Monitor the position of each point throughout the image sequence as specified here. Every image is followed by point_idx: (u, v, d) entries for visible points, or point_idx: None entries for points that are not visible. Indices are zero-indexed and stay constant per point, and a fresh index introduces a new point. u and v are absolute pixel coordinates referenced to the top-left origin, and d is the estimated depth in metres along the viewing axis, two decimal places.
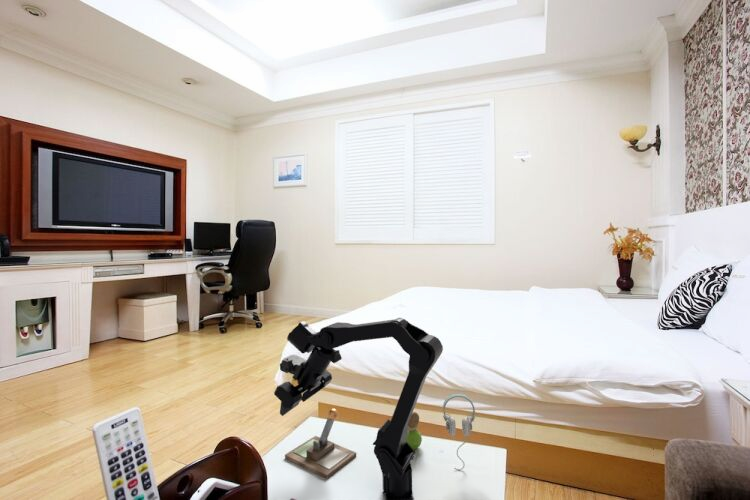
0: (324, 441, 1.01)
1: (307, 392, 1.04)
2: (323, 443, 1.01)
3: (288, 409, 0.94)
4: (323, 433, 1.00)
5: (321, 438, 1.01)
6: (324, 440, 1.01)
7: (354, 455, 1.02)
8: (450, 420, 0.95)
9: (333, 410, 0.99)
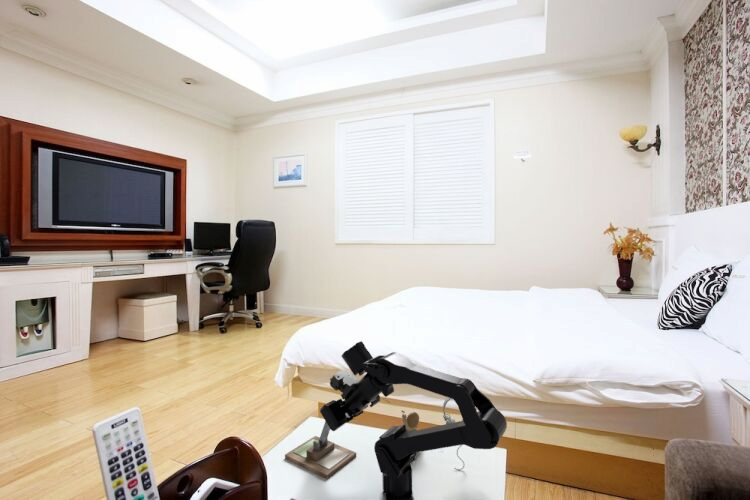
0: (324, 441, 1.01)
1: None
2: (323, 443, 1.01)
3: None
4: (323, 433, 1.00)
5: (321, 438, 1.01)
6: (324, 440, 1.01)
7: (354, 455, 1.02)
8: (450, 420, 0.95)
9: None
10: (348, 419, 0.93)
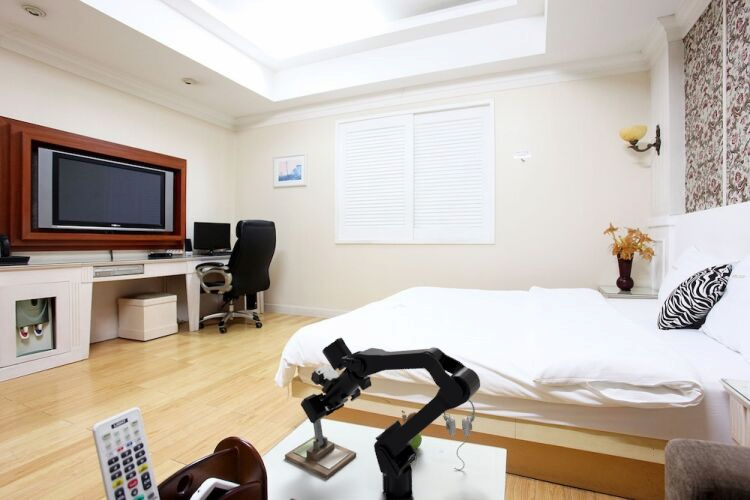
0: (320, 438, 1.02)
1: None
2: (320, 440, 1.02)
3: None
4: (315, 429, 1.02)
5: (316, 435, 1.02)
6: (320, 436, 1.02)
7: (354, 455, 1.02)
8: (450, 420, 0.95)
9: None
10: (328, 412, 0.96)
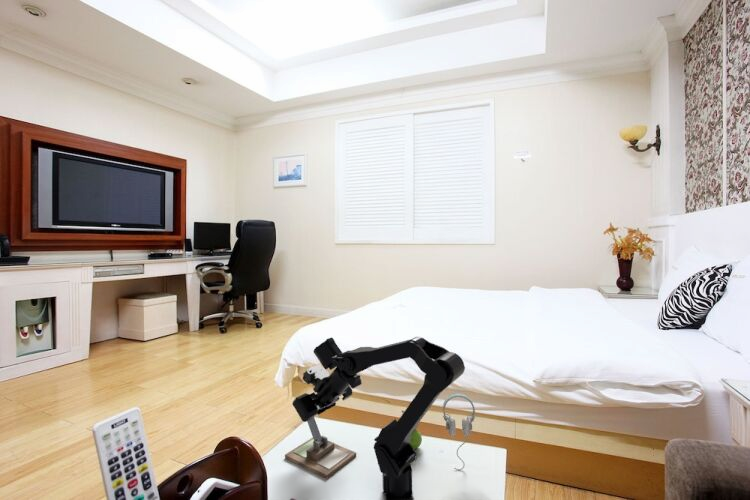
0: (318, 437, 1.03)
1: None
2: (319, 439, 1.02)
3: None
4: (311, 429, 1.03)
5: (313, 436, 1.02)
6: (318, 436, 1.03)
7: (354, 455, 1.02)
8: (450, 420, 0.95)
9: None
10: (320, 411, 0.98)
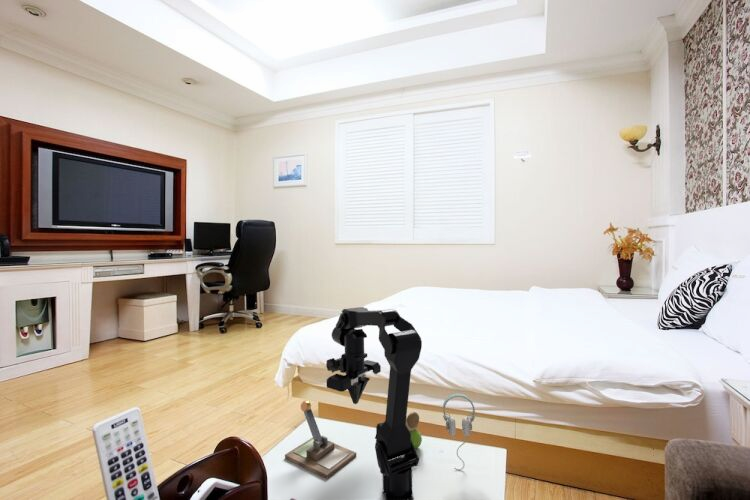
0: (318, 437, 1.03)
1: None
2: (319, 439, 1.02)
3: (355, 392, 1.04)
4: (311, 429, 1.03)
5: (313, 436, 1.02)
6: (318, 436, 1.03)
7: (354, 455, 1.02)
8: (450, 420, 0.95)
9: (303, 401, 1.05)
10: (356, 384, 1.03)
